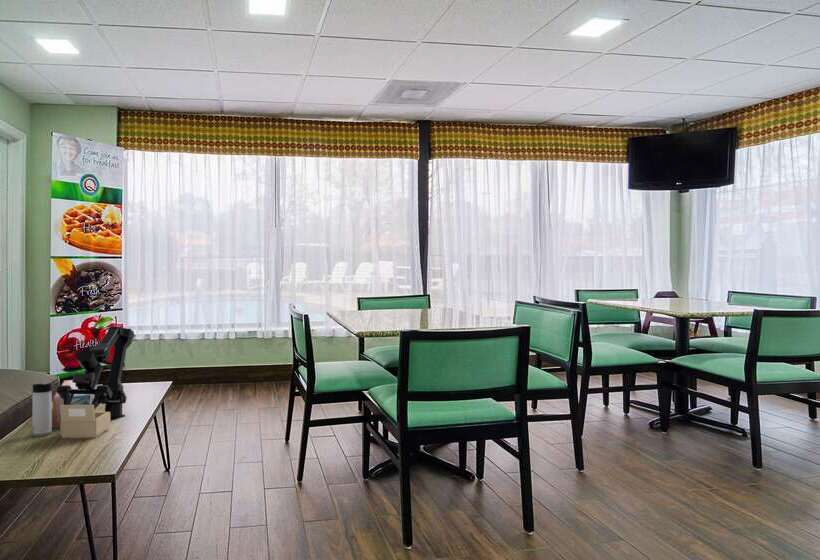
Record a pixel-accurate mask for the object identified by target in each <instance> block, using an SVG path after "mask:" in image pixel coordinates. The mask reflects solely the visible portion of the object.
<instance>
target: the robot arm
mask: <svg viewBox="0 0 820 560" xmlns="http://www.w3.org/2000/svg"><path fill="white" fill-rule="evenodd" d="M134 337H135V332H134V331H133V330H132V328H126V327H123V326H121V325H120V326H117V325H116V326H114V325H111V326H109V327H108V330H107V331H106V333H105V335H104V336H103V337H102V339H101V340H100V342H98V344H95V345H93V346H92V347H84V349H82V350H81V351H79V352H78V353H77V354H76V360H77V361H78V363H79V365H80V367H81V368H82V369H84V372H83V373H74V374H73V377H72V380H73V381H72V383H76V384H75V386H76V387H78V389H72V388H71V387H70V385H62V384H61V385H58V386H57V388H56V393H58V394H59V396H60V397H61V398H63V400H64V405H70V404H71V402H72V397H73V395H74V394H95V395H94V399H93V402H92V404H91V405H94V409H95V410H96V408H98V406H99V405H104V406H105V408H104V412H110V420H117V419H119V418H123V417H125V416H126V414H123V404H126V403H127V397H128V396H127V395H126V393H125V391H124V385H123V384H122V375H123V370H124V365H125V359H126V353H127V349H128V348H129V347H130V346H131V345H132V343H133V339H134ZM113 347H114V349H113V354H112V359H111V364H110V370H109V373H108V374H109V375H108V379H107V380H106V381H103V383H102V384H101V385H100V384H99V378H100V376H101V373H103V372H104V369H103V366H102V364H107V362H109V360H110V358H111V350H112V348H113ZM96 385H97V389H95V387H96ZM116 418H117V419H116Z"/></svg>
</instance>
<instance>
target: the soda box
mask: <svg viewBox="0 0 820 560" xmlns="http://www.w3.org/2000/svg"><path fill="white" fill-rule="evenodd" d="M72 381H73V379H69V380H66V379H65V380H63V382H62V383H61V385H70V387H71V388H72V389H78V387H76V386H75V384H76V383H72ZM97 386H98V385H96V387H95V389H97ZM94 395H95V394H74V395H73V397H72V402H71V404H70V405H91V404H92V402H93V399H94ZM60 405H64V400H63V398H61V397H60V396H59V394H58V393H57V392H56V393H55V394H54V395H53V397H52V428H54V429H55V428H57V429H58V428H60V420H61V413H60ZM94 410H95V411H96V408H95V409H94Z"/></svg>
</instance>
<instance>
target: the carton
mask: <svg viewBox="0 0 820 560" xmlns="http://www.w3.org/2000/svg"><path fill="white" fill-rule="evenodd" d="M94 414H95V420H94V421H61V420H60V427H59V428H60V430H59V431H60V433H59V434H60V436H61V439H96V438H98V437H99V436H101V435H102V434H101V433H103V432H104V433H106V432H108V431H109V430H108V429H110V428H111V419H110V412H105V411H94ZM105 431H106V432H105ZM104 433H103V434H104ZM100 434H101V435H100ZM98 435H99V436H98ZM97 436H98V437H97ZM95 437H96V438H95Z"/></svg>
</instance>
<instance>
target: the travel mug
mask: <svg viewBox="0 0 820 560" xmlns="http://www.w3.org/2000/svg"><path fill="white" fill-rule="evenodd" d="M52 391H53V390H52V383H44V384H43V383H34V384H32V413H31V414H32V418H31V419H32V422H31V423H32V425H31V426H32V434H31V435H32V437H37V438H39V437H45V436H46V437H47V436H49V435H51V434H52V428H53V397H52Z"/></svg>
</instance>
